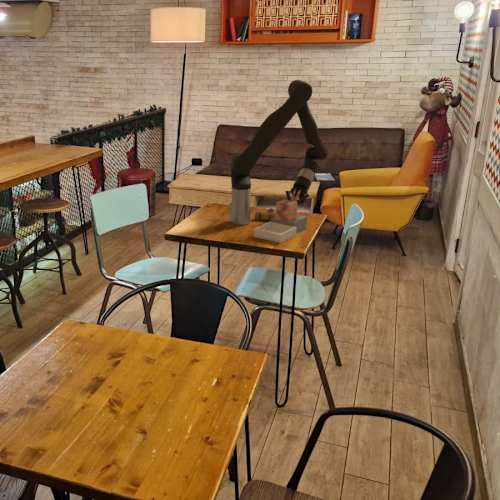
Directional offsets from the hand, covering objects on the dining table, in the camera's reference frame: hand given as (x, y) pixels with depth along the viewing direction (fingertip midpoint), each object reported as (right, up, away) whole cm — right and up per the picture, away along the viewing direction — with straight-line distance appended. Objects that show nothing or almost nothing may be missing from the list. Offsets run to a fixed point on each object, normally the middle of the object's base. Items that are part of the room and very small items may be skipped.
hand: (290, 210), depth 222 cm
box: (-8, -12, -8) cm, 16 cm away
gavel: (-9, -2, +24) cm, 26 cm away
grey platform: (0, -9, +3) cm, 9 cm away
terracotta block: (-2, -4, -2) cm, 5 cm away
